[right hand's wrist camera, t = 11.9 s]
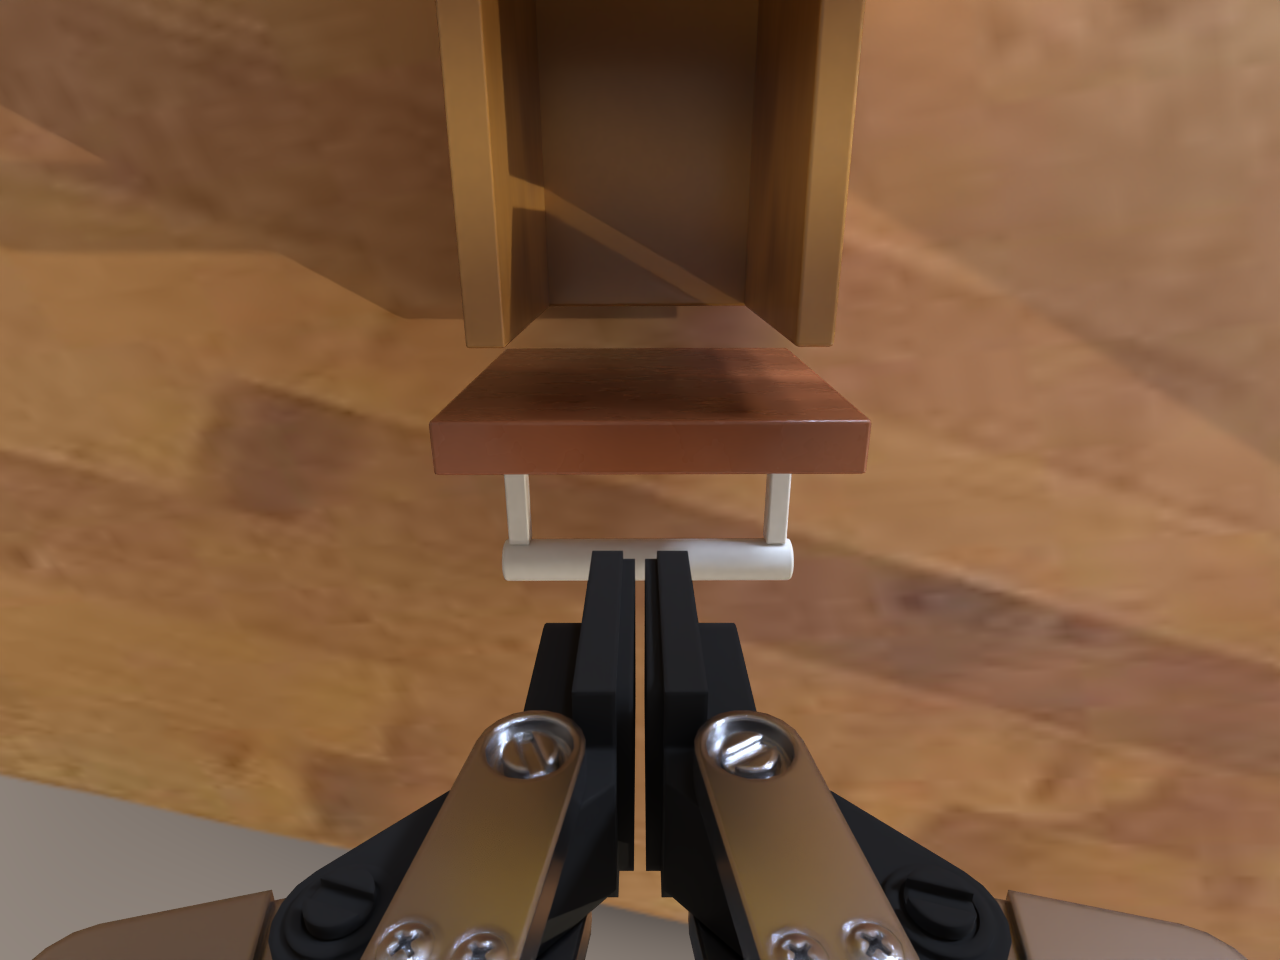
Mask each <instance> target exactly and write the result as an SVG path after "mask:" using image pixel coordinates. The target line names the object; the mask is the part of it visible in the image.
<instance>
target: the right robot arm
mask: <svg viewBox="0 0 1280 960" xmlns="http://www.w3.org/2000/svg"><path fill="white" fill-rule="evenodd" d="M634 802H635V559H623V551H592V556H591V563H590V570H589V576H588V583H587V590H586V597H585V604H584V611H583V618H582V623H546V624H545V625H544V628H543V632H542V636H541V640H540V645H539V649H538V653H537V657H536V661H535V666H534V670H533V674H532V678H531V682H530V687H529V691H528V695H527V699H526V703H525V708H524V712H519V713H515V714H511V715H509V716H507V717H504V718H502V719H500V720H498V721H496V722H495V723H494V724H492V725H491V726H489V727H488V728H487V729H485V731H484V732H483V733H482V734H481V736H480V737H479V738H478V740H477V741H476V743H475V745H474V747H473V749H472V751H471V752H470V754H469V756H468V758H467V760H466V762H465V764H464V766H463V767H462V769H461V771H460V773H459V775H458V777H457V779H456V781H455V782H454V784H453V786H452V788H451V790H450V791H448V792H446V793H445V794H443V795H441V796H440V797H438V798H436V799H435V800H433V801H431V802H430V803H428V804H426V805H425V806H423V807H422V808H420V809H418V810H417V811H415V812H413V813H412V814H410V815H408V816H407V817H405V818H403V819H402V820H400V821H398V822H397V823H395V824H393V825H392V826H390V827H389V828H387V829H385V830H384V831H382V832H380V833H379V834H377V835H375V836H374V837H372V838H370V839H369V840H367V841H365V842H364V843H362V844H360V845H359V846H357V847H356V848H354V849H352V850H351V851H349V852H347V853H346V854H344V855H342V856H341V857H339V858H337V859H336V860H334V861H332V862H331V863H329V864H327V865H326V866H324V867H323V868H321V869H319V870H318V871H316V872H315V873H313V874H312V875H311V876H309V877H308V878H307V879H305V880H304V881H303V882H301V883H300V884H299V885H297V886H296V887H295V888H294V890H293V891H292V892H291V893H290V894H289V895H288V896H287V898H284V899H279V900H274V897H273V893H272V890H269V891H263V892H259V893H254V894H248V895H243V896H238V897H233V898H228V899H223V900H218V901H213V902H208V903H203V904H198V905H193V906H188V907H183V908H178V909H173V910H167V911H162V912H157V913H152V914H147V915H142V916H137V917H132V918H127V919H122V920H117V921H112V922H107V923H102V924H98V925H95V926H92V927H89V928H86V929H83V930H80V931H76V932H74V933H72V934H70V935H68V936H66V937H65V938H63V939H61V940H59V941H58V942H56V943H54V944H52V945H51V946H49V947H47V948H45V949H44V950H43V951H42V952H41V953H40V954H38V955H37V956H36V957H35V958H34V959H32V960H585V957H586V953H587V948H588V944H589V940H590V935H591V922H592V914H591V911H592V910H593V909H594V908H596V907H597V906H598V905H599V904H600V903H601V902H602V901H604V900H605V899H606V898H607V897H618V892H619V871H634ZM645 803H646V871H661V892H662V897H673V898H674V899H675V900H676V901H678V902H679V903H680V904H681V905H682V906H683V907H684V908H686V909H687V910H688V911H689V914H688V922H689V935H690V940H691V944H692V948H693V953H694V957H695V960H1248V959H1246V958H1245V957H1244V956H1243V955H1242V954H1240V953H1239V952H1238V951H1237V950H1236V949H1235V948H1233V947H1231V946H1229V945H1228V944H1226V943H1224V942H1222V941H1221V940H1219V939H1217V938H1215V937H1214V936H1212V935H1210V934H1208V933H1207V932H1204V931H1200V930H1197V929H1194V928H1191V927H1188V926H1185V925H1182V924H1178V923H1173V922H1168V921H1163V920H1158V919H1153V918H1148V917H1143V916H1138V915H1133V914H1128V913H1123V912H1118V911H1113V910H1107V909H1102V908H1097V907H1092V906H1087V905H1082V904H1077V903H1072V902H1067V901H1062V900H1057V899H1052V898H1047V897H1042V896H1037V895H1032V894H1027V893H1022V892H1017V891H1011V890H1008V893H1007V897H1006V900H1001V899H996V898H993V896H992V895H991V894H990V893H989V892H988V891H987V890H986V888H985V887H984V886H983V885H981V884H980V883H979V882H977V881H976V880H975V879H973V878H972V877H971V876H969V875H968V874H967V873H965V872H964V871H962V870H961V869H959V868H957V867H956V866H954V865H953V864H951V863H949V862H948V861H946V860H944V859H943V858H941V857H939V856H938V855H936V854H934V853H933V852H931V851H929V850H928V849H926V848H924V847H923V846H921V845H920V844H918V843H916V842H915V841H913V840H911V839H910V838H908V837H906V836H905V835H903V834H901V833H900V832H898V831H896V830H895V829H893V828H891V827H890V826H888V825H887V824H885V823H883V822H882V821H880V820H878V819H877V818H875V817H873V816H872V815H870V814H868V813H867V812H865V811H863V810H862V809H860V808H858V807H857V806H855V805H854V804H852V803H850V802H849V801H847V800H845V799H844V798H842V797H840V796H839V795H837V794H835V793H834V792H832V791H830V790H829V788H828V786H827V784H826V782H825V781H824V779H823V777H822V775H821V773H820V771H819V769H818V767H817V766H816V764H815V762H814V760H813V758H812V756H811V754H810V752H809V751H808V749H807V747H806V745H805V743H804V741H803V740H802V738H801V737H800V736H799V734H798V733H797V732H796V731H795V729H793V728H792V727H791V726H789V725H788V724H786V723H785V722H784V721H782V720H780V719H778V718H776V717H773V716H771V715H769V714H765V713H761V712H756V708H755V703H754V699H753V695H752V691H751V687H750V682H749V678H748V674H747V670H746V666H745V661H744V657H743V653H742V649H741V645H740V641H739V636H738V632H737V628H736V625H735V624H734V623H698V618H697V611H696V604H695V597H694V590H693V583H692V576H691V570H690V563H689V556H688V551H657V559H645Z"/></svg>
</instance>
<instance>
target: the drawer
mask: <svg viewBox="0 0 1280 960" xmlns="http://www.w3.org/2000/svg"><path fill="white" fill-rule="evenodd" d="M864 10H865V0H436V11H437V23H438V34H439V45H440V57H441V68H442V79H443V90H444V102H445V113H446V124H447V136H448V147H449V158H450V169H451V181H452V192H453V203H454V215H455V226H456V237H457V248H458V260H459V271H460V282H461V294H462V305H463V316H464V328H465V339H466V346H467V347H468V348H504V347H505V346H506V345H507V344H509V343H510V342H511V341H512V340H513V339H514V338H515V337H516V336H517V335H518V334H519V333H520V332H522V331H523V330H524V329H525V328H526V327H527V326H528V325H529V324H530V323H531V322H532V321H534V320H535V319H536V318H537V317H538V316H539V315H540V314H541V313H542V312H543V311H544V310H545V309H547V308H548V307H549V306H747V307H748V308H749V309H750V310H752V311H753V312H754V313H755V314H757V315H758V316H759V317H760V318H762V319H763V320H764V321H766V322H767V323H768V324H769V325H771V326H772V327H773V328H774V329H776V330H777V331H778V332H779V333H781V334H782V335H783V336H785V337H786V338H787V339H788V340H790V341H791V342H792V343H793V344H795V345H796V346H798V347H829V346H832V345H833V343H834V336H835V325H836V314H837V303H838V292H839V281H840V270H841V260H842V249H843V238H844V227H845V216H846V205H847V195H848V184H849V173H850V162H851V151H852V140H853V129H854V119H855V108H856V97H857V86H858V75H859V64H860V53H861V43H862V32H863V21H864ZM429 430H430V439H431V448H432V457H433V466H434V472H435V474H437V475H504V480H505V494H506V507H507V520H508V534H509V539H508V540H506V541H505V543H504V546H503V552H502V570H503V575H504V578H505V580H508V581H588V576H589V570H590V563H591V556H592V551H623V559H635V580H645V559H657V551H688V556H689V563H690V570H691V576H692V580H789V579H790V578H791V576H792V573H793V566H794V556H793V548H792V544H791V542H790V540H789V539H787V525H788V511H789V498H790V485H791V474H862V473H865V471H866V466H867V457H868V449H869V440H870V431H871V421H870V420H869V419H868V418H867V417H866V416H865V415H864V414H862V413H861V412H860V411H859V410H858V409H857V408H855V407H854V406H853V405H852V404H851V403H850V402H848V401H847V400H846V399H845V398H844V397H843V396H841V395H840V394H839V393H838V392H837V391H836V390H834V389H833V388H832V387H831V386H830V385H829V384H828V383H826V382H825V381H824V380H823V379H822V378H821V377H819V376H818V375H817V374H816V373H815V372H814V371H812V370H811V369H810V368H809V367H808V366H807V365H805V364H804V363H803V362H802V361H801V360H800V359H798V358H797V357H796V356H795V355H794V354H793V353H791V352H790V351H789V350H788V349H786V348H629V349H506V350H505V351H504V352H503V353H502V354H501V355H500V356H499V357H498V358H497V359H496V360H494V361H493V362H492V363H491V364H490V365H489V366H488V367H487V368H486V369H485V370H484V371H483V372H482V373H481V374H480V375H479V376H478V377H477V378H475V379H474V380H473V381H472V382H471V383H470V384H469V385H468V386H467V387H466V388H465V389H464V390H463V391H462V392H461V393H460V394H459V395H458V396H456V397H455V398H454V399H453V400H452V401H451V402H450V403H449V404H448V405H447V406H446V407H445V408H444V409H443V410H442V411H441V412H440V413H439V414H438V415H436V416H435V417H434V418H433V419H432V420H431V421H430V423H429ZM537 474H767V482H766V498H765V514H764V530H763V536H764V538H692V539H531V538H532V525H531V509H530V493H529V477H528V475H537Z"/></svg>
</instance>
